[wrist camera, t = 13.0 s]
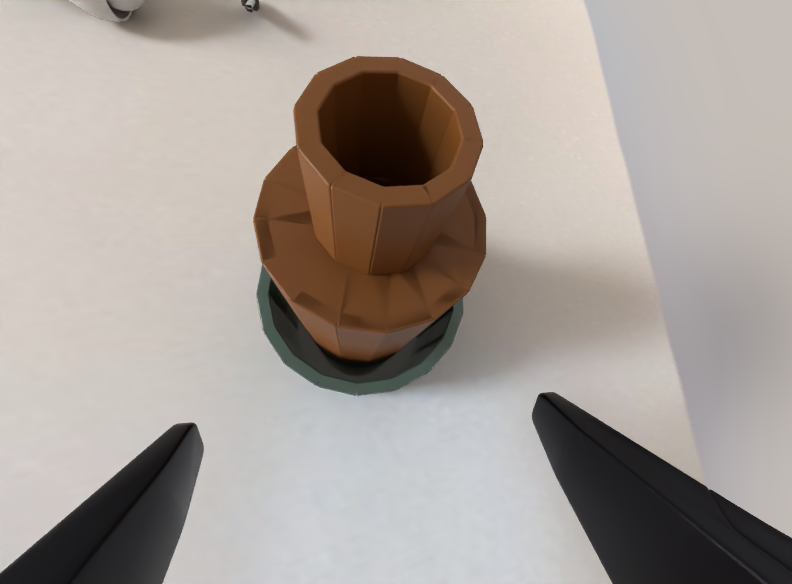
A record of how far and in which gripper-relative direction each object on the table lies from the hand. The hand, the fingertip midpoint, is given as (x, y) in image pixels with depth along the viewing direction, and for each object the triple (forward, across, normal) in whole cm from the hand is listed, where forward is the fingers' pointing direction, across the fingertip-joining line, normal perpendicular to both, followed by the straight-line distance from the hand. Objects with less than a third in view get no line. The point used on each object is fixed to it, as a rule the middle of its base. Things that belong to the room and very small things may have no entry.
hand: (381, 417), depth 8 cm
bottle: (+9, 0, +2) cm, 10 cm away
